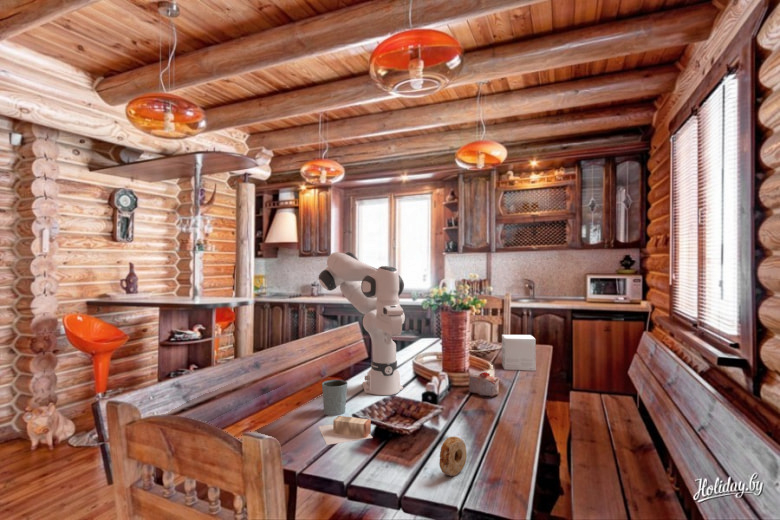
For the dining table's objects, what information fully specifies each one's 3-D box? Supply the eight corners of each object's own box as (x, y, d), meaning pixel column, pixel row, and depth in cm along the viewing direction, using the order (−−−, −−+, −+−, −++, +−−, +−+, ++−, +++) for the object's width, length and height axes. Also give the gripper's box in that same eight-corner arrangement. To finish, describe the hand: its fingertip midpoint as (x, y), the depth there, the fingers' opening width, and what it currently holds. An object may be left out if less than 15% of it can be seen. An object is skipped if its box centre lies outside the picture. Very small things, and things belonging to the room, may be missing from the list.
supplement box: (531, 365, 241) (531, 334, 241) (536, 371, 228) (536, 338, 228) (501, 364, 243) (501, 333, 244) (504, 370, 230) (504, 338, 230)
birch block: (333, 420, 144) (366, 424, 141) (338, 415, 149) (370, 419, 145) (333, 433, 144) (366, 437, 141) (338, 428, 149) (370, 432, 145)
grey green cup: (319, 417, 160) (319, 386, 160) (324, 407, 170) (324, 379, 170) (345, 417, 160) (345, 386, 160) (348, 408, 170) (348, 379, 170)
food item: (501, 394, 188) (501, 373, 188) (494, 399, 182) (495, 377, 182) (474, 388, 196) (474, 368, 196) (466, 393, 190) (467, 371, 190)
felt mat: (318, 427, 150) (318, 426, 150) (360, 421, 156) (360, 420, 156) (326, 445, 135) (326, 444, 135) (372, 438, 141) (372, 437, 141)
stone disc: (448, 482, 113) (448, 446, 113) (437, 477, 116) (437, 442, 116) (469, 468, 121) (469, 435, 121) (458, 464, 123) (458, 431, 123)
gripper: (371, 305, 168) (371, 339, 168) (389, 311, 148) (389, 349, 148) (386, 305, 170) (386, 338, 170) (405, 310, 151) (405, 348, 151)
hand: (387, 343), depth 159 cm, fingers closed
